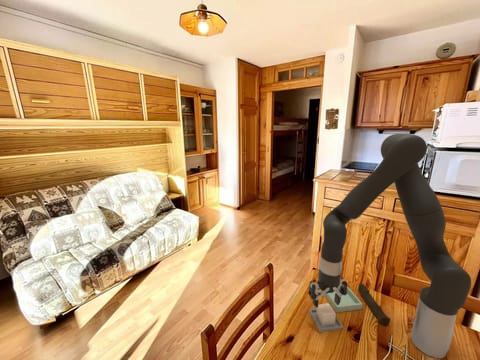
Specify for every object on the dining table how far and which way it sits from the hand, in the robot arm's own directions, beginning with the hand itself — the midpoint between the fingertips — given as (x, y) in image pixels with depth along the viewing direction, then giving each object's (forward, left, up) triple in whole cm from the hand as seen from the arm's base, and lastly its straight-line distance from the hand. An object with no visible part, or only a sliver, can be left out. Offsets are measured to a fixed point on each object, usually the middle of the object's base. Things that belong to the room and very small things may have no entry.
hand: (326, 304), depth 81 cm
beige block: (0, 0, -7) cm, 7 cm away
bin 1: (0, 0, -8) cm, 8 cm away
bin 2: (-12, -8, -8) cm, 16 cm away
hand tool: (-22, -4, -8) cm, 24 cm away
